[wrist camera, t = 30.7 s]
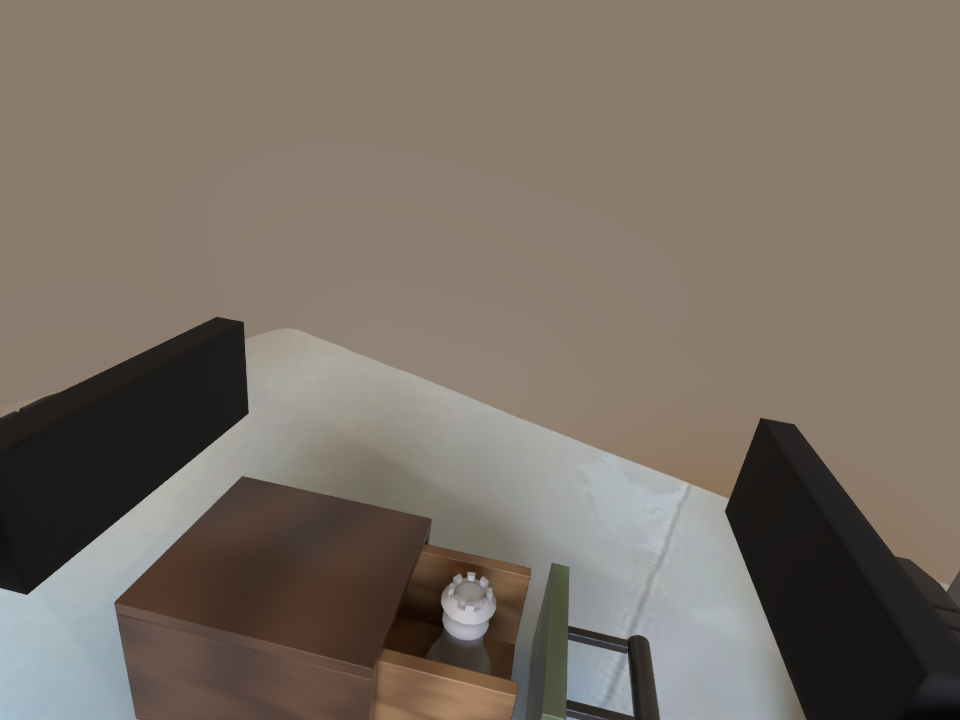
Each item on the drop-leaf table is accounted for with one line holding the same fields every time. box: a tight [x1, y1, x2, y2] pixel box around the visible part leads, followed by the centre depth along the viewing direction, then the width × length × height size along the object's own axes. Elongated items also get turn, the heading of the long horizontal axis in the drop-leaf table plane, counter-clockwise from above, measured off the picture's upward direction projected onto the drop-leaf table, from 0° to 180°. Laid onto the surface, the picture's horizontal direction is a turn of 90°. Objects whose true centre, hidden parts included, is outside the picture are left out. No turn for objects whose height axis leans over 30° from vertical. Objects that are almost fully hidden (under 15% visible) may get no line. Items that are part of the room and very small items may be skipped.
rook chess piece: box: [425, 572, 496, 675], centre depth 32 cm, size 4×4×8 cm
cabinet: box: [114, 476, 432, 720], centre depth 34 cm, size 14×12×9 cm
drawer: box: [373, 544, 660, 720], centre depth 33 cm, size 19×10×8 cm, turn 80°
